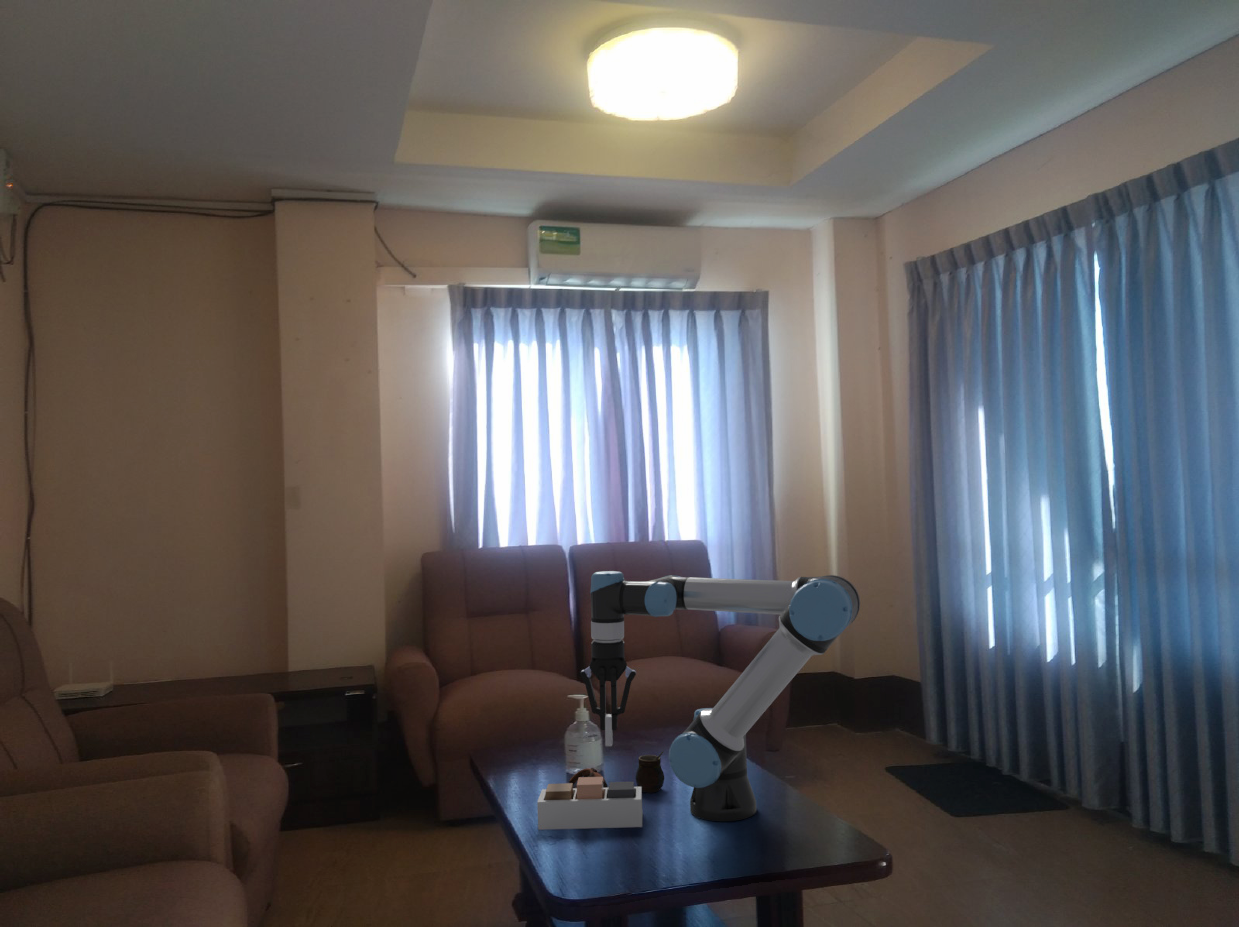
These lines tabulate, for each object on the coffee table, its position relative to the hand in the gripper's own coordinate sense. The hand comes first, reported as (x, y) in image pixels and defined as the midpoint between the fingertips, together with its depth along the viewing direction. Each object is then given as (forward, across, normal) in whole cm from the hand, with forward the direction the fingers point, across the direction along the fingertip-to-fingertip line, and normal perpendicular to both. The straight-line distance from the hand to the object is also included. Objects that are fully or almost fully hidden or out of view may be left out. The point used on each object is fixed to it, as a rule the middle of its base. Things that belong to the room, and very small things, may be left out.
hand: (609, 744), depth 207 cm
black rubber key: (+14, -3, 0) cm, 14 cm away
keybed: (+17, +4, +1) cm, 18 cm away
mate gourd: (+17, -9, -21) cm, 28 cm away
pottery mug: (+18, +6, -16) cm, 24 cm away
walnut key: (+15, +11, +1) cm, 18 cm away
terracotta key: (+13, +4, +1) cm, 14 cm away
